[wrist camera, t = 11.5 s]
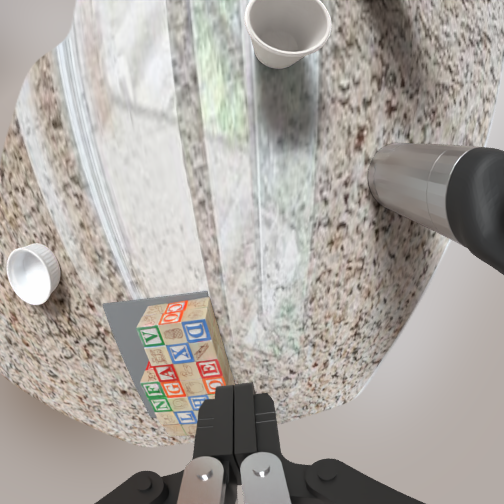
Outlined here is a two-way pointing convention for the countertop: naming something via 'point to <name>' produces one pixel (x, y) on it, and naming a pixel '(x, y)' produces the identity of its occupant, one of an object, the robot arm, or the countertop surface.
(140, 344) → the mat
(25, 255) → the ramekin
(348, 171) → the countertop surface
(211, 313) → the stack of blocks
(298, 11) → the dixie cup
